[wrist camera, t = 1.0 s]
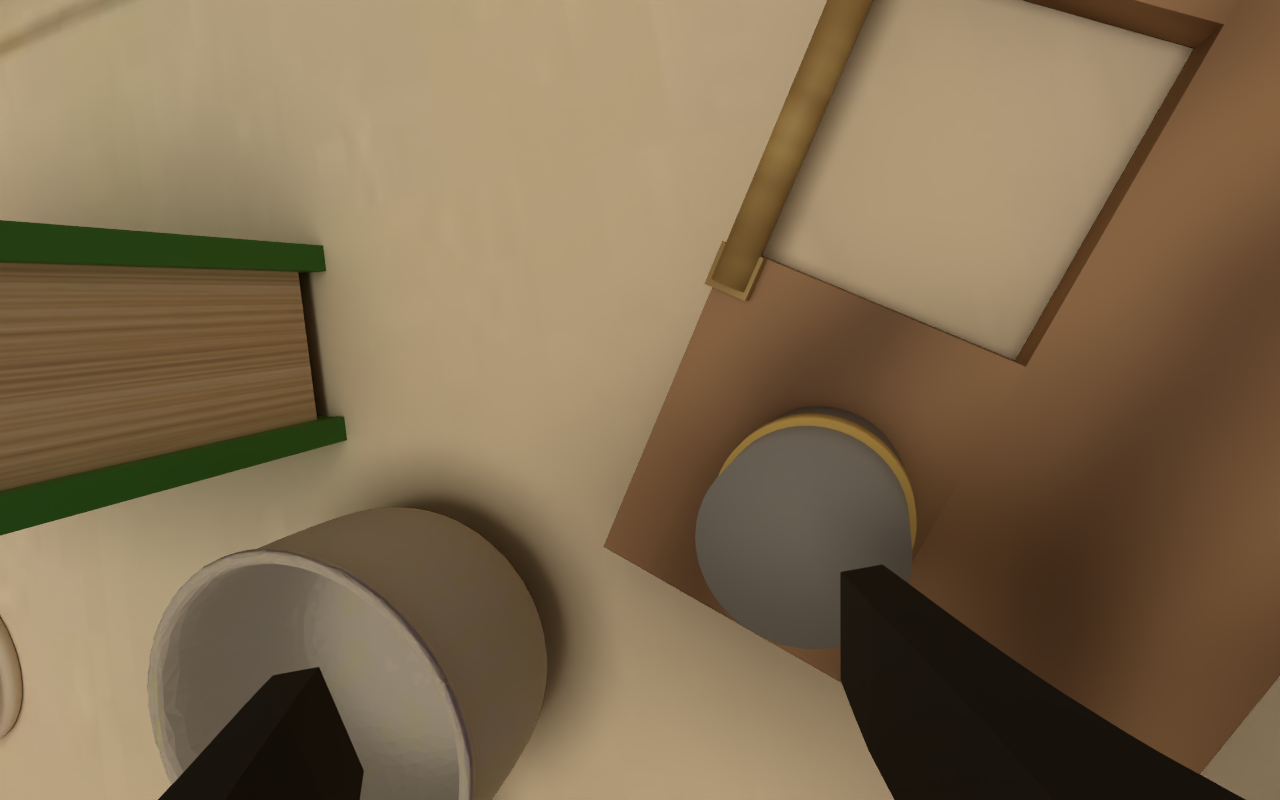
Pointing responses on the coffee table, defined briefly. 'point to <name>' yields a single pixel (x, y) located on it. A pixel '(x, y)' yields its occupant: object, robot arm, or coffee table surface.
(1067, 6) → the shelf board
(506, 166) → the coffee table surface
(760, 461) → the gold-banded grey cylinder
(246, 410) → the hardback book
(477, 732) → the teacup
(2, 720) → the stack of white coasters
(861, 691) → the robot arm
